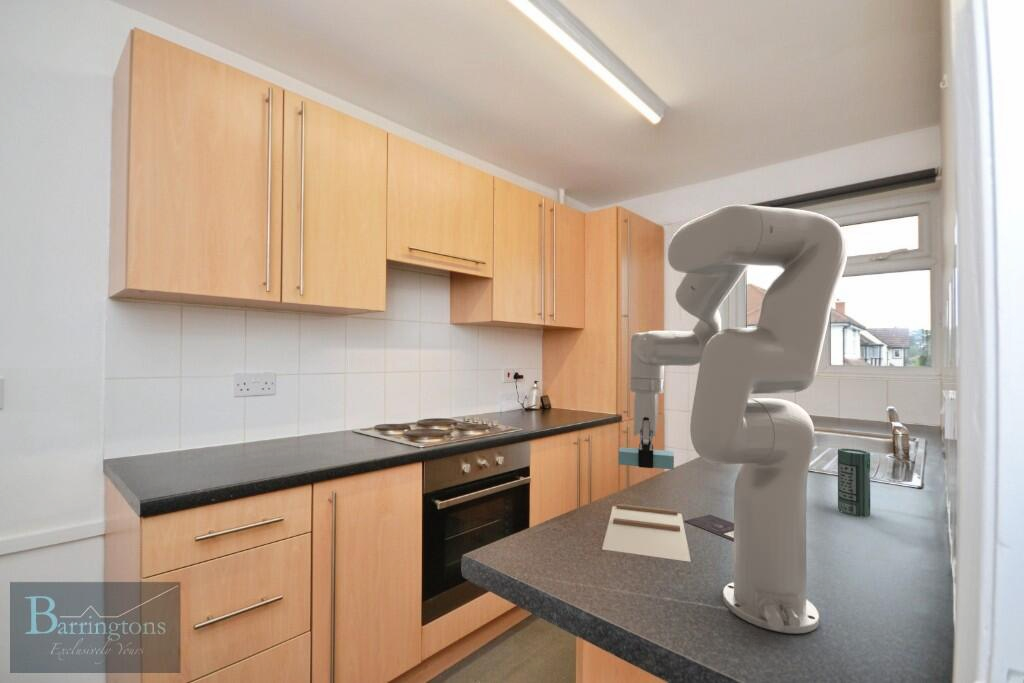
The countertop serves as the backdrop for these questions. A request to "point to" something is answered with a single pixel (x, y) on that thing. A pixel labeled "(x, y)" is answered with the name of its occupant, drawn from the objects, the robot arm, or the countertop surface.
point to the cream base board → (647, 532)
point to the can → (854, 482)
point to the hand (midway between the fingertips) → (645, 463)
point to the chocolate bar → (714, 526)
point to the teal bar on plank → (659, 458)
